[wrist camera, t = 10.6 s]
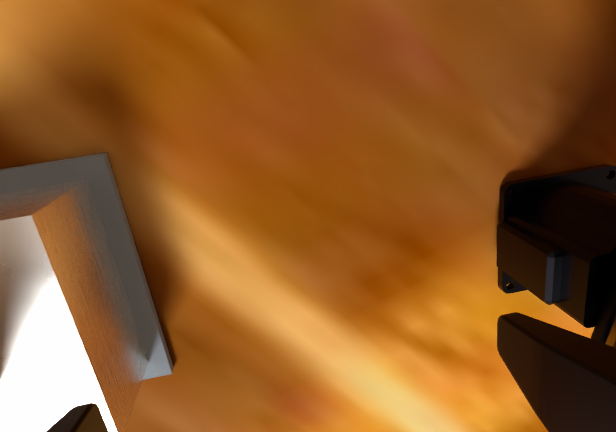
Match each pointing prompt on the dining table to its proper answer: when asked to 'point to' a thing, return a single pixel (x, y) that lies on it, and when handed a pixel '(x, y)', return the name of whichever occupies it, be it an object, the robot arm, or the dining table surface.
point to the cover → (62, 313)
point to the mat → (117, 235)
